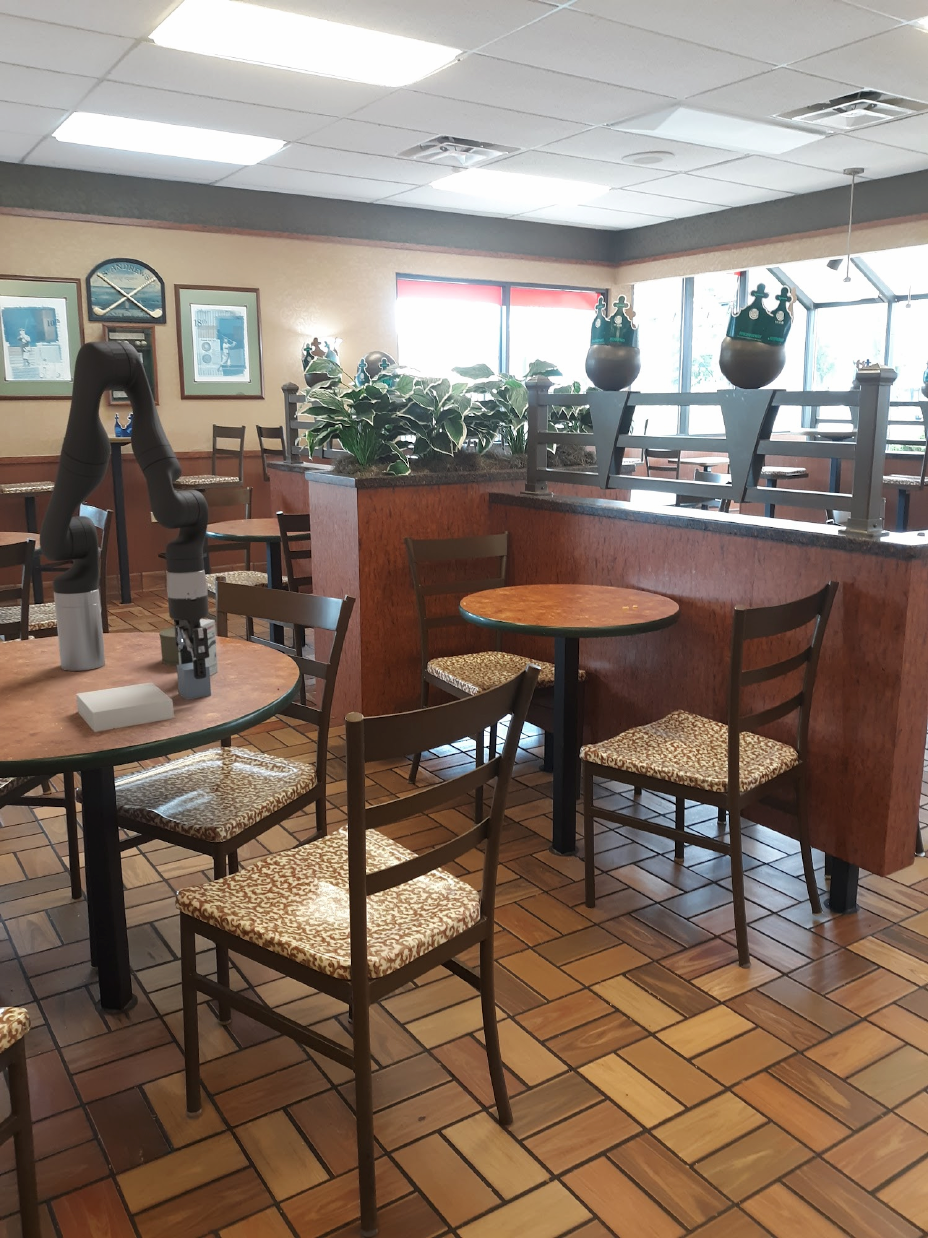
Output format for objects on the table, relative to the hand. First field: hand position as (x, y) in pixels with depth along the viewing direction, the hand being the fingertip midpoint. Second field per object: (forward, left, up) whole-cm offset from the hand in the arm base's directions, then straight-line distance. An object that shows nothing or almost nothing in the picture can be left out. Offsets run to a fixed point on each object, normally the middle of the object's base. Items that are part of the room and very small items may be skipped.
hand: (193, 673), depth 192 cm
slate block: (0, 0, -4) cm, 4 cm away
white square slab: (+6, -15, -5) cm, 17 cm away
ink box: (-13, +5, -5) cm, 15 cm away
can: (-29, +7, -5) cm, 30 cm away
